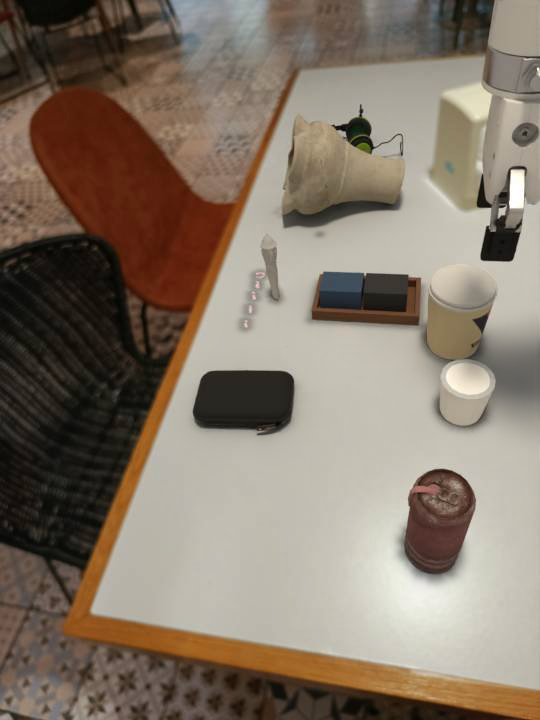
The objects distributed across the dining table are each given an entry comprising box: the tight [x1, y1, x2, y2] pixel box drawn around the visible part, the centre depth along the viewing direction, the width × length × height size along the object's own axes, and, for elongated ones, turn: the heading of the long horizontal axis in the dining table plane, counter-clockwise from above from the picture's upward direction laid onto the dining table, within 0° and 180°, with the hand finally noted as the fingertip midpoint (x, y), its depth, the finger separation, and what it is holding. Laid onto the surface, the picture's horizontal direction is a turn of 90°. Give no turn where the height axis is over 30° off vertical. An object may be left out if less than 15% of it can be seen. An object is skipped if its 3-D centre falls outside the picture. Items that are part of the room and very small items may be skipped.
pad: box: [363, 272, 410, 312], centre depth 88 cm, size 7×5×4 cm
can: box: [404, 468, 477, 574], centre depth 57 cm, size 6×6×14 cm
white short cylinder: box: [439, 358, 497, 427], centre depth 71 cm, size 7×7×7 cm
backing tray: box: [310, 273, 422, 326], centre depth 90 cm, size 18×10×2 cm, turn 78°
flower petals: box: [243, 271, 266, 329], centre depth 95 cm, size 15×2×1 cm, turn 170°
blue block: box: [319, 271, 365, 310], centre depth 90 cm, size 7×5×4 cm
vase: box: [281, 112, 406, 216], centre depth 104 cm, size 22×22×28 cm
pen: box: [259, 233, 280, 301], centre depth 89 cm, size 2×3×14 cm
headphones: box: [330, 103, 404, 157], centre depth 121 cm, size 16×10×20 cm
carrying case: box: [192, 369, 295, 432], centre depth 78 cm, size 11×3×15 cm
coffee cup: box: [426, 263, 499, 361], centre depth 78 cm, size 9×9×12 cm
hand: (493, 231), depth 58 cm, fingers open, 9 cm apart
